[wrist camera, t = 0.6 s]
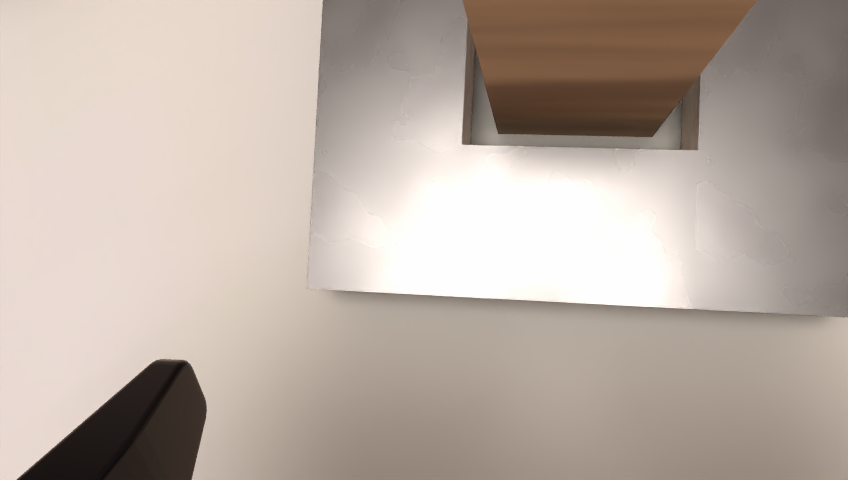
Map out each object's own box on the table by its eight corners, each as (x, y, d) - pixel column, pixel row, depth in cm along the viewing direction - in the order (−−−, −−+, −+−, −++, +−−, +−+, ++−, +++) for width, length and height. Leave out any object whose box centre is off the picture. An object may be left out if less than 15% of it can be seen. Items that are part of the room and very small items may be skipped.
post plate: (826, 314, 21) (864, 318, 19) (331, 288, 23) (306, 288, 21) (838, -183, 22) (877, -241, 19) (355, -165, 24) (335, -216, 22)
